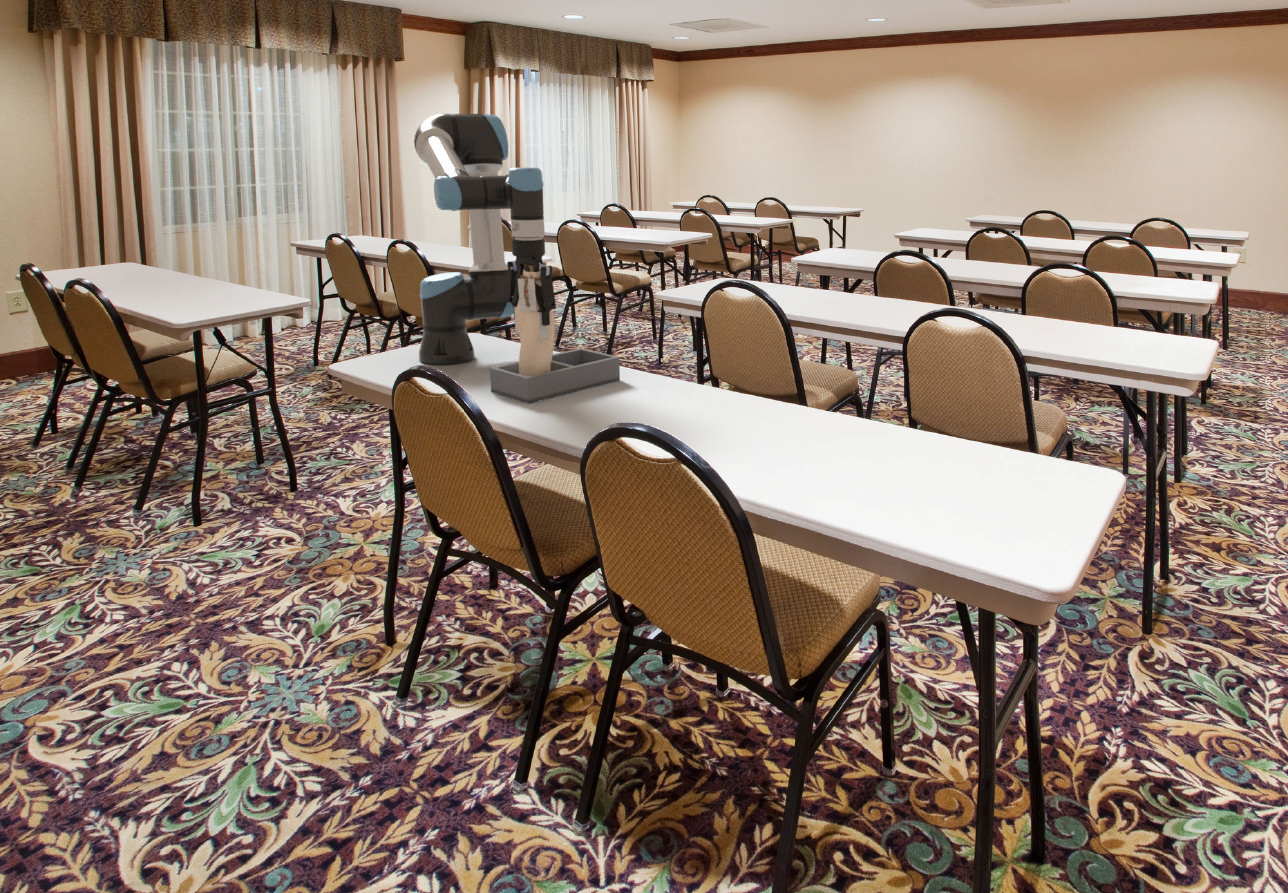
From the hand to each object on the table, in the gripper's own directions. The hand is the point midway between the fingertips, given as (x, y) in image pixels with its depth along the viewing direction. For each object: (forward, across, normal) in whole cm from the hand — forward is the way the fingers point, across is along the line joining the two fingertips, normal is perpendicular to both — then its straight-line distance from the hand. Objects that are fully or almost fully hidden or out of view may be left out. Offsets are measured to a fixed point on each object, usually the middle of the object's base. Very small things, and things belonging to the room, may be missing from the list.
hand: (532, 335), depth 202 cm
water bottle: (+11, 0, 0) cm, 11 cm away
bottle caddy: (+14, 0, +7) cm, 15 cm away
